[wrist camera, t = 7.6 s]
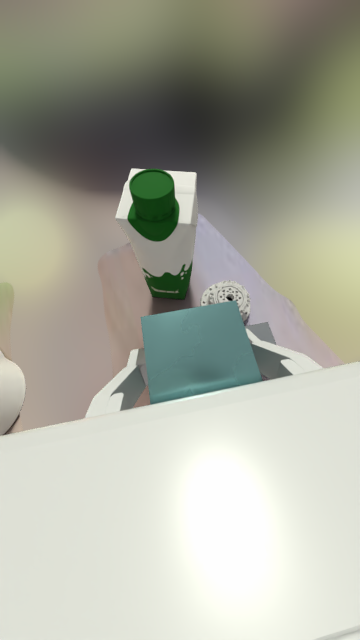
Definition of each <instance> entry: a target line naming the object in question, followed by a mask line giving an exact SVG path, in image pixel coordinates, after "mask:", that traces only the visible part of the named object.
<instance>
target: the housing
mask: <svg viewBox="0 0 360 640" xmlns="http://www.w3.org/2000/svg"><path fill="white" fill-rule="evenodd" d="M141 324H142V332H143V341H144V350H145V359H146V368H147V377H148V386H149V395H150V404H151V405H152V404H156V403H161V402H166V401H171V400H176V399H180V398H185V397H190V396H195V395H199V394H204V393H209V392H214V391H219V390H223V389H228V388H233V387H238V386H243V385H248V384H252V383H257V382H262V381H263V380H262V377H261V374H260V371H259V368H258V365H257V362H256V359H255V356H254V353H253V350H252V347H251V344H250V341H249V338H248V335H247V332H246V329H245V326H244V323H243V320H242V317H241V314H240V311H239V308H238V305H237V302H236V300H234V301H228V302H223V303H217V304H211V305H206V306H200V307H194V308H189V309H183V310H178V311H172V312H166V313H161V314H155V315H149V316H144V317H141Z"/></svg>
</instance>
